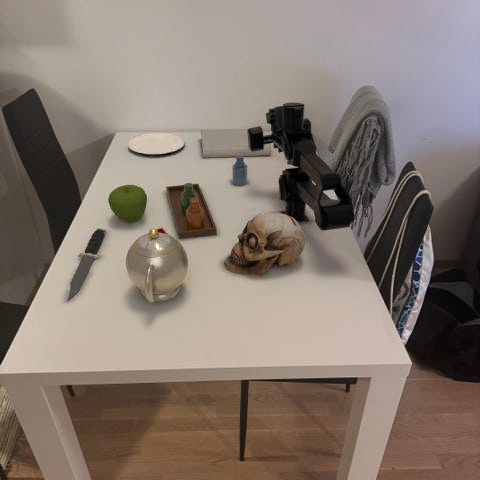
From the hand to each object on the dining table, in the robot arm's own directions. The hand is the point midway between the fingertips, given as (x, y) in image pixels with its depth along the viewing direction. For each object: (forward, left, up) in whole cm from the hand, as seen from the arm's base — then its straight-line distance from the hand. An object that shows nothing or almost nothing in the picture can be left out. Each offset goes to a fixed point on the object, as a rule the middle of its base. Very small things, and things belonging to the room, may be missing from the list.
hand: (270, 127), depth 145 cm
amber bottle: (-26, +28, -16) cm, 42 cm away
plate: (+37, +32, -17) cm, 52 cm away
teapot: (-53, +41, -17) cm, 70 cm away
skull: (-45, +14, -17) cm, 51 cm away
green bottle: (-17, +28, -16) cm, 37 cm away
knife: (-37, +58, -17) cm, 70 cm away
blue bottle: (+1, +9, -17) cm, 19 cm away
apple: (-16, +45, -17) cm, 51 cm away
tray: (-16, +28, -17) cm, 37 cm away
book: (+30, +4, -17) cm, 35 cm away
